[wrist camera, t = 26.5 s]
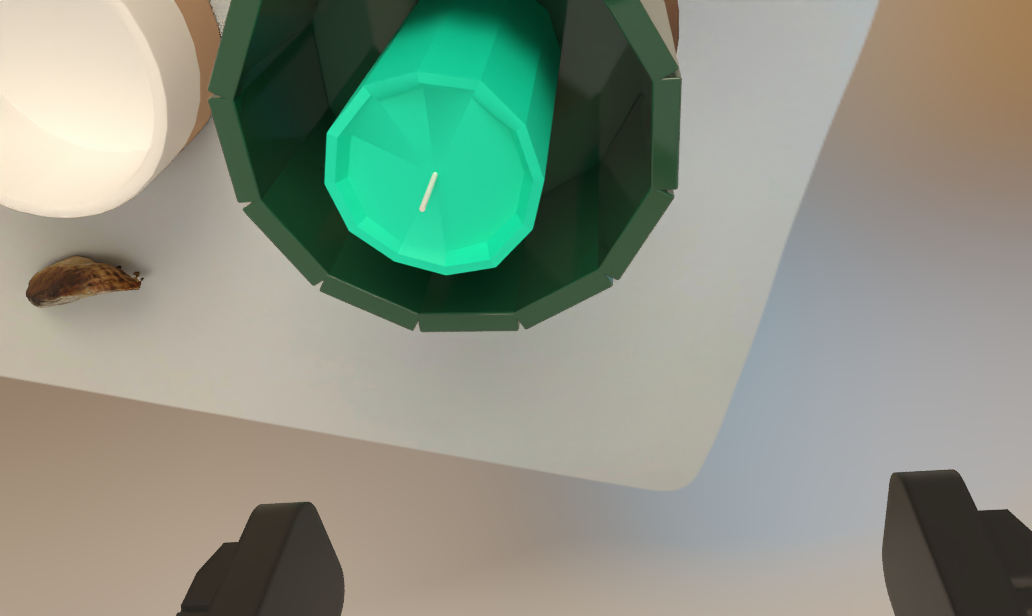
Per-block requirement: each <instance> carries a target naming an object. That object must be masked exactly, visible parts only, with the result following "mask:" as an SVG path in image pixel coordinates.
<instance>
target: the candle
mask: <svg viewBox="0 0 1032 616" xmlns="http://www.w3.org/2000/svg"><path fill="white" fill-rule="evenodd" d="M560 59H561V51H560V47H559V44H558V41H557V38H556V35H555V31H554V28H553V25H552V22H551V19H550V15H549V12H548V11H547V10H546V9H545V8H544V7H543V6H542V5H541V4H540V3H539V2H537V1H536V0H419V2H418V3H417V4H416V5H415V7H414V8H413V9H412V11H411V12H410V13H409V14H408V16H407V17H406V18H405V20H404V21H403V22H402V24H401V25H400V27H399V28H398V30H397V31H396V33H395V34H394V36H393V37H392V39H391V40H390V41H389V43H388V44H387V46H386V47H385V49H384V50H383V52H382V53H381V55H380V56H379V57H378V59H377V60H376V62H375V63H374V65H373V66H372V68H371V69H370V71H369V72H368V73H367V75H366V76H365V78H364V79H363V81H362V82H361V84H360V85H359V87H358V88H357V89H356V91H355V92H354V94H353V95H352V97H351V98H350V100H349V101H348V103H347V104H346V106H345V107H344V108H343V110H342V111H341V113H340V114H339V116H338V117H337V119H336V120H335V122H334V123H333V124H332V126H331V127H330V129H329V130H328V132H327V138H326V160H325V181H324V184H325V186H326V188H327V190H328V192H329V194H330V195H331V197H332V199H333V201H334V203H335V205H336V207H337V209H338V211H339V213H340V215H341V216H342V218H343V220H344V222H345V224H346V226H347V228H348V230H349V231H350V232H351V233H353V234H354V235H356V236H357V237H359V238H360V239H362V240H363V241H365V242H366V243H368V244H369V245H371V246H372V247H374V248H375V249H377V250H378V251H380V252H381V253H383V254H384V255H385V256H387V257H388V258H390V259H391V260H393V261H395V262H398V263H402V264H406V265H410V266H413V267H417V268H421V269H424V270H428V271H432V272H436V273H439V274H443V275H452V274H458V273H464V272H470V271H477V270H483V269H489V268H495V267H497V266H498V265H499V264H500V263H501V261H502V260H503V259H504V258H505V257H506V256H507V255H508V254H509V253H510V252H511V251H512V250H513V249H514V248H515V247H516V246H517V245H518V244H519V243H520V242H521V241H522V240H523V239H524V238H525V237H526V236H527V235H528V234H529V233H530V232H531V231H532V230H533V226H534V222H535V218H536V213H537V209H538V205H539V201H540V197H541V192H542V188H543V184H544V179H545V172H546V164H547V157H548V149H549V142H550V134H551V127H552V119H553V111H554V104H555V96H556V89H557V81H558V74H559V66H560Z"/></svg>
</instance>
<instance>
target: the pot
mask: <svg viewBox="0 0 1032 616" xmlns="http://www.w3.org/2000/svg"><path fill="white" fill-rule="evenodd" d="M536 1H537V2H539V3H540V4H541V5H542V6H543V7H544V8H545V9H546V10H547V11H548V12H549V15H550V19H551V22H552V25H553V28H554V31H555V35H556V38H557V41H558V44H559V47H560V51H561V59H560V66H559V74H558V81H557V89H556V96H555V104H554V111H553V119H552V127H551V134H550V142H549V149H548V157H547V164H546V172H545V179H544V184H543V188H542V192H541V197H540V201H539V205H538V209H537V213H536V218H535V222H534V226H533V230H532V231H531V232H530V233H529V234H528V235H527V236H526V237H525V238H524V239H523V240H522V241H521V242H520V243H519V244H518V245H517V246H516V247H515V248H514V249H513V250H512V251H511V252H510V253H509V254H508V255H507V256H506V257H505V258H504V259H503V260H502V261H501V263H500V264H499V265H498V266H497V267H495V268H489V269H483V270H477V271H470V272H464V273H458V274H452V275H443V274H439V273H436V272H432V271H428V270H424V269H421V268H417V267H413V266H410V265H406V264H402V263H398V262H395V261H393V260H391V259H390V258H388V257H387V256H385V255H384V254H383V253H381V252H380V251H378V250H377V249H375V248H374V247H372V246H371V245H369V244H368V243H366V242H365V241H363V240H362V239H360V238H359V237H357V236H356V235H354V234H353V233H351V232H350V231H349V230H348V228H347V226H346V224H345V222H344V220H343V218H342V216H341V215H340V213H339V211H338V209H337V207H336V205H335V203H334V201H333V199H332V197H331V195H330V194H329V192H328V190H327V188H326V186H325V184H324V181H325V160H326V138H327V132H328V130H329V129H330V127H331V126H332V124H333V123H334V122H335V120H336V119H337V117H338V116H339V114H340V113H341V111H342V110H343V108H344V107H345V106H346V104H347V103H348V101H349V100H350V98H351V97H352V95H353V94H354V92H355V91H356V89H357V88H358V87H359V85H360V84H361V82H362V81H363V79H364V78H365V76H366V75H367V73H368V72H369V71H370V69H371V68H372V66H373V65H374V63H375V62H376V60H377V59H378V57H379V56H380V55H381V53H382V52H383V50H384V49H385V47H386V46H387V44H388V43H389V41H390V40H391V39H392V37H393V36H394V34H395V33H396V31H397V30H398V28H399V27H400V25H401V24H402V22H403V21H404V20H405V18H406V17H407V16H408V14H409V13H410V12H411V11H412V9H413V8H414V7H415V5H416V4H417V3H418V2H419V0H231V2H230V6H229V10H228V14H227V17H226V21H225V25H224V29H223V32H222V36H221V40H220V44H219V47H218V51H217V55H216V59H215V62H214V66H213V70H212V74H211V77H210V81H209V85H208V91H209V92H211V93H213V95H212V96H211V97H210V98H209V99H208V103H209V106H210V109H211V113H212V116H213V120H214V123H215V126H216V130H217V133H218V137H219V140H220V143H221V147H222V150H223V154H224V157H225V160H226V164H227V167H228V171H229V174H230V177H231V181H232V184H233V188H234V191H235V195H236V198H237V201H238V202H239V203H242V202H247V204H246V205H245V206H244V208H243V211H244V212H245V213H246V215H247V216H248V217H249V218H250V219H251V220H252V221H253V222H254V223H255V224H256V225H257V226H258V227H259V228H260V230H261V231H262V232H263V233H264V234H265V235H266V236H267V237H268V238H269V239H270V240H271V241H272V242H273V244H274V245H275V246H276V247H277V248H278V249H279V250H280V251H281V252H282V253H283V254H284V255H285V256H286V258H287V259H288V260H289V261H290V262H291V263H292V264H293V265H294V266H295V267H296V268H297V269H298V270H299V272H300V273H301V274H302V275H303V276H304V277H305V278H306V279H307V280H308V281H309V282H310V283H311V284H312V285H313V286H314V285H316V284H318V283H320V282H321V281H323V280H324V281H323V283H322V285H321V288H320V291H321V292H323V293H325V294H327V295H330V296H332V297H334V298H337V299H339V300H341V301H344V302H346V303H348V304H351V305H353V306H355V307H358V308H360V309H362V310H365V311H367V312H369V313H372V314H374V315H376V316H379V317H381V318H383V319H386V320H388V321H390V322H393V323H395V324H397V325H400V326H402V327H404V328H407V329H409V330H411V331H413V330H414V328H415V326H416V324H417V323H418V322H419V328H420V331H421V332H474V331H518V329H519V325H520V323H521V324H522V326H523V327H524V328H525V329H528V328H530V327H532V326H534V325H536V324H538V323H540V322H542V321H544V320H546V319H548V318H550V317H552V316H554V315H556V314H558V313H560V312H562V311H564V310H566V309H568V308H570V307H572V306H574V305H576V304H578V303H580V302H582V301H584V300H586V299H588V298H590V297H592V296H594V295H596V294H598V293H600V292H602V291H604V290H606V289H608V288H610V287H612V286H613V278H614V279H616V280H619V279H620V278H621V276H622V275H623V273H624V272H625V270H626V269H627V267H628V266H629V264H630V263H631V261H632V260H633V258H634V257H635V255H636V254H637V253H638V251H639V250H640V248H641V247H642V245H643V244H644V242H645V241H646V239H647V238H648V236H649V235H650V233H651V232H652V230H653V229H654V227H655V226H656V224H657V223H658V221H659V220H660V218H661V217H662V215H663V214H664V212H665V211H666V209H667V208H668V206H669V205H670V203H671V202H672V200H673V199H674V191H673V190H675V189H677V188H678V170H679V141H680V112H681V84H682V78H681V74H680V69H679V65H678V60H677V56H676V51H675V47H674V42H673V37H672V33H671V28H670V24H669V19H668V15H667V10H666V6H665V2H664V0H536Z"/></svg>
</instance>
